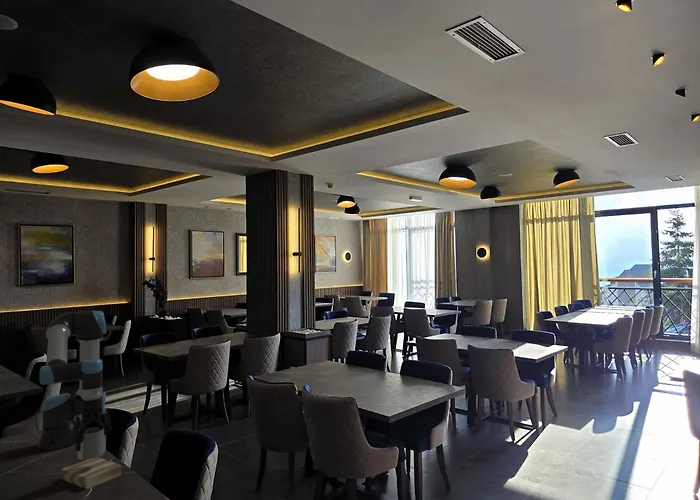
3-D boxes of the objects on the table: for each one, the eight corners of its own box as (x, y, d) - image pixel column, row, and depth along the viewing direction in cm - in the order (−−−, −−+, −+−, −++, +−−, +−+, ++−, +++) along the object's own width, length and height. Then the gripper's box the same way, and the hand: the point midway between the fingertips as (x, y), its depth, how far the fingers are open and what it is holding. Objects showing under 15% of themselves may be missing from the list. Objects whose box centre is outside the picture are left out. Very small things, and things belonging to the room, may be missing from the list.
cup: (92, 460, 182) (92, 434, 182) (74, 459, 183) (75, 433, 184) (108, 452, 190) (108, 427, 190) (90, 451, 191) (91, 426, 192)
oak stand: (61, 479, 185) (61, 469, 185) (96, 466, 197) (96, 456, 197) (86, 489, 176) (86, 478, 176) (121, 475, 187) (121, 465, 188)
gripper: (70, 405, 177) (69, 466, 176) (122, 393, 195) (121, 447, 194) (59, 403, 181) (59, 462, 179) (111, 391, 199) (111, 444, 198)
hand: (91, 454), depth 187 cm, fingers closed on cup, 8 cm apart
